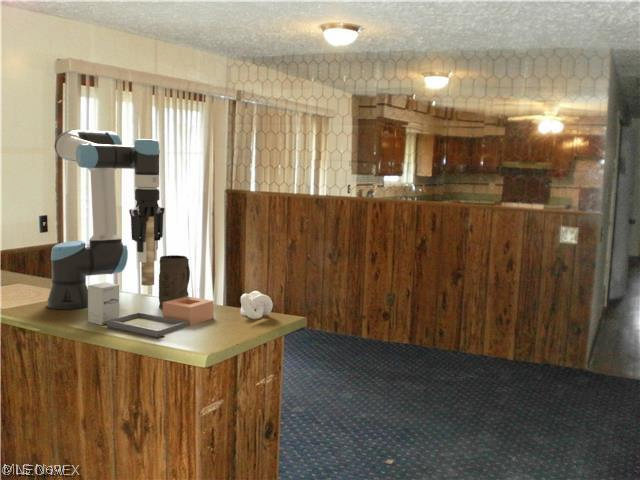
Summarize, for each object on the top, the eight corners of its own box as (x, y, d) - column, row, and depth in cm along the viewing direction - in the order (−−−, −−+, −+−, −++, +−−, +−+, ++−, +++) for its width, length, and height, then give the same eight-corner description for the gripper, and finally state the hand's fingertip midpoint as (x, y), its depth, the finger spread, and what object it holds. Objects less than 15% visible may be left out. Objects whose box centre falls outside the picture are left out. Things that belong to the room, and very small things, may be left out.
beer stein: (180, 313, 227) (182, 258, 225) (152, 311, 229) (154, 256, 227) (197, 307, 242) (198, 255, 240) (170, 305, 244) (172, 253, 243)
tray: (107, 327, 206) (107, 320, 206) (138, 319, 218) (138, 311, 218) (157, 338, 195) (157, 330, 195) (188, 328, 208) (188, 321, 207)
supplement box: (102, 325, 209) (101, 287, 207) (87, 321, 212) (86, 284, 211) (120, 321, 215) (119, 284, 213) (105, 317, 219) (105, 281, 217)
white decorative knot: (260, 324, 217) (260, 298, 215) (230, 319, 221) (230, 294, 220) (275, 317, 227) (276, 292, 226) (246, 312, 232) (246, 288, 230)
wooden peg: (138, 284, 204) (138, 216, 201) (147, 282, 207) (147, 215, 205) (148, 286, 202) (147, 217, 199) (156, 284, 206) (156, 216, 203)
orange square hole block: (162, 322, 214) (162, 302, 213) (186, 315, 225) (186, 296, 224) (190, 328, 208) (190, 307, 208) (213, 320, 219) (213, 300, 218)
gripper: (136, 189, 192) (136, 265, 195) (174, 188, 206) (174, 259, 209) (118, 188, 195) (119, 263, 198) (157, 187, 210) (157, 256, 213)
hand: (147, 261), depth 204 cm, fingers closed on wooden peg, 4 cm apart
